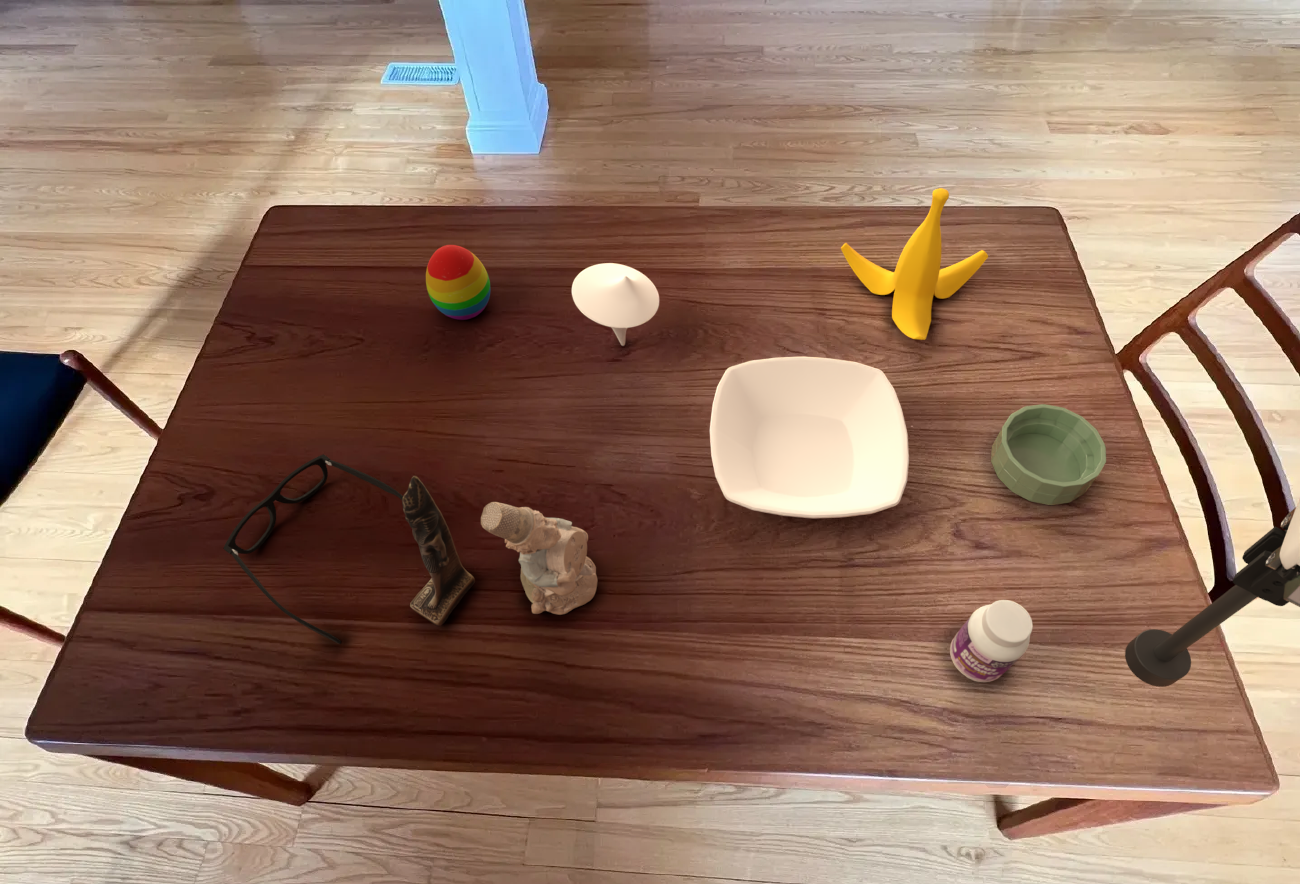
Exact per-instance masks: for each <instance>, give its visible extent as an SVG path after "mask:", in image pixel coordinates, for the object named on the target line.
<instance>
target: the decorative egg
mask: <svg viewBox="0 0 1300 884" xmlns="http://www.w3.org/2000/svg"><path fill="white" fill-rule="evenodd" d="M425 270H426V272H425V285H426V290H427V293H428V297H429V299H430V301H431V302H432V304H433V305H434V306H435V308H436V309H437V310H438V311H439V312H441V313H442V314H443V315H444V316H446V317H448V318H451V319H453V320H459V321H464V320H465V321H466V320H470V319H473V318H475V317H477V316H478V315H480V314H481V313H482V312H483V311H484V310H485V308H486V307H487V306H488V303H489V301H490V298H491V288H492V287H491V281H490V277H489V274H488V271H487V270H486V268H485V266H484V264H483V263H482V261H481V260H480V259H479V258H478V257H477V256H476V254H474V253H473V252H472V251H471V250H469V249H467V248H466V247H463V246H460V245H456V244H446V245H443V246H440V247H439V248H438V249H436V250H435V252H433V254H432V255H431V257H430V258H429V260H428V263H427V266H426V269H425Z"/></svg>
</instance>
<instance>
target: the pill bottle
mask: <svg viewBox="0 0 1300 884" xmlns="http://www.w3.org/2000/svg"><path fill="white" fill-rule="evenodd" d="M1033 625H1034V624H1033V619H1032V616H1031V615H1030V613H1029V611H1027V609H1026V608H1025V607H1023V606H1022V605H1021V604H1019V603H1017V602H1015V601H1013V600H1009V599H999V600H995V601H994V602H992V603H990V604H984V605H982V606H980V607H978V608H977V609H976V610H974V611H973V612H972V613H971V615H970V616H969V617H968V619H967V620H966V621H965V622H964V624H963V625H962V626H961V627H960V629H959V630H958V631H957V632H956V633H955V635H954V637H953V638H952V640H951V643H950V646H949V652H950V653H949V654H950V659H951V661H952V664H953V665H954V667H955V668H956V669H957V670H958V672H959V673H960V674H962V675H963V676H965V677H966V678H967V679H969V680H971V681H974V682H978V683H990V682H993V681H996V680H998V679H1000V677H1002V676H1003V675H1004V674H1005V673H1006V672H1007V671H1008V670H1009V669H1010V668H1011V667H1012V666H1013V665H1014V664H1016V663H1017V662H1018V660H1020V659H1021V658H1023V656H1024V655H1025V653H1026V652H1027V651H1028V648H1029V645H1030V641H1031V634H1032V633H1033V628H1034V627H1033Z"/></svg>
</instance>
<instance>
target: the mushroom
mask: <svg viewBox="0 0 1300 884" xmlns="http://www.w3.org/2000/svg"><path fill="white" fill-rule="evenodd" d="M571 298H572V301H573V302H574V305H575V307H576V308H577V309H578V310H579V312H581V314H583V315H584V316H585V317H586V318H588V319H589V320H591V321H593V322H595V323H597V324H598V325H602V326H605V327H609V328H611V329H612V331H613V333H614V334H615V336H616V339H617V341H618V342H619V343H620V345H621V346H622V347H625V345H626V338H627V337H626V336H627V330H628V329H629V328H634V327H638V326H642V325H643V324H645V323H647V322H649V321H650V320H651V319H652V318H653V317H654V316H655V315H656V313H657V312H658V310H659V307H660V294H659V291H658V289H657V287H656V286H655V284H654V283H653V281H651V279H650V278H648V276H647V275H645V274H643V272H641V271H639V270H638V269H635V268H633V267H631V266H628V265H626V264H625V265H624V264H620V263H613V262H606V263H605V262H604V263H597V264H594V265H591V266H588V267H586V268H585V269H583V270H582V271H580V272H579V273H578V274H577V275H576V276H575V278H574V279H573V282H572V285H571Z"/></svg>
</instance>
